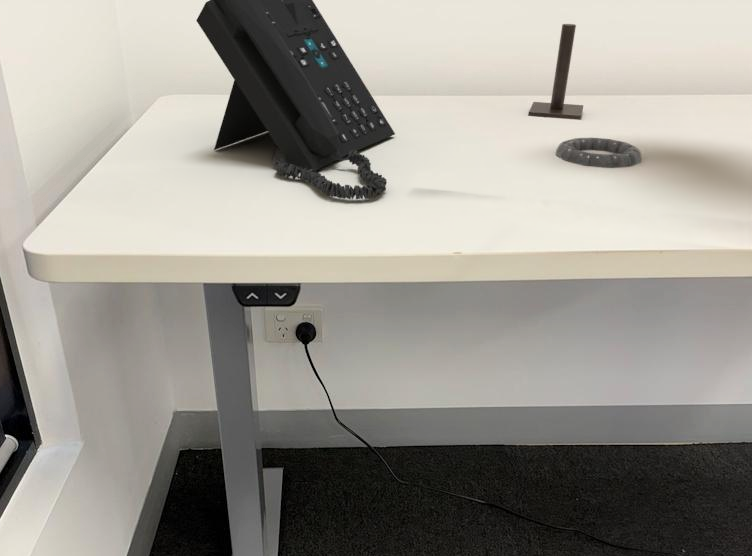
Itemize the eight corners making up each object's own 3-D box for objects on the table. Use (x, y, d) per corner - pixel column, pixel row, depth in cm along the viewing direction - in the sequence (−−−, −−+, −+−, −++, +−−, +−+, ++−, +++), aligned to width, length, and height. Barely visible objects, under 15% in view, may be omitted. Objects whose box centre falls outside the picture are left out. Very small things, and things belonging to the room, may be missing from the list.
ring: (638, 158, 99) (642, 139, 97) (639, 180, 90) (644, 160, 89) (557, 151, 101) (560, 133, 100) (551, 172, 93) (554, 152, 92)
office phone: (364, 207, 81) (368, -5, 70) (163, 168, 93) (139, -19, 82) (468, 147, 102) (484, -22, 91) (294, 122, 114) (290, -31, 103)
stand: (582, 111, 122) (597, 22, 115) (580, 122, 116) (595, 29, 109) (532, 108, 124) (544, 20, 117) (527, 118, 118) (539, 26, 111)
